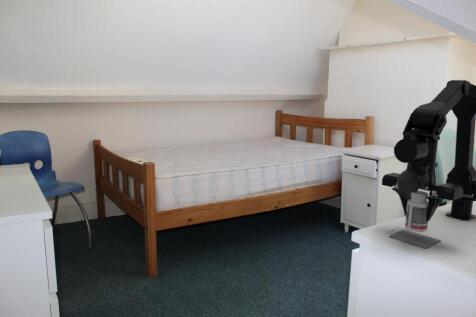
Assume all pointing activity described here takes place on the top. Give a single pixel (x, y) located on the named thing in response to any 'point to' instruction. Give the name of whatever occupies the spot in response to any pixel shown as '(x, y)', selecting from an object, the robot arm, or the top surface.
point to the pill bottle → (417, 212)
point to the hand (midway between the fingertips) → (417, 217)
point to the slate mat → (415, 239)
